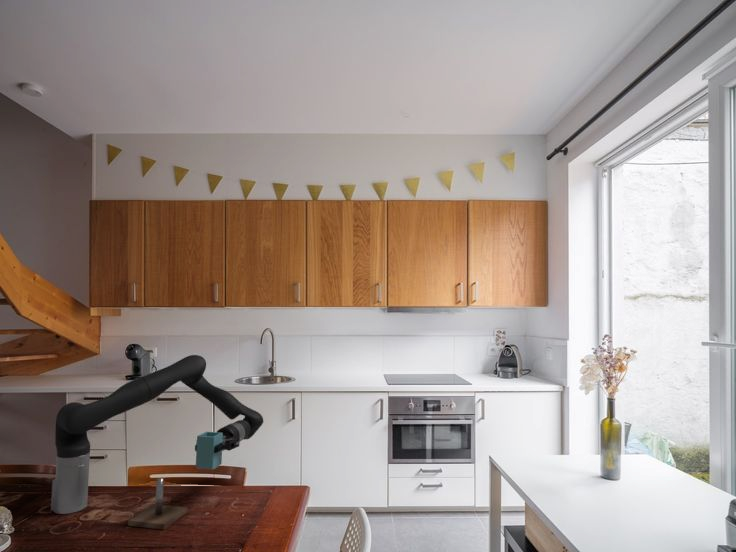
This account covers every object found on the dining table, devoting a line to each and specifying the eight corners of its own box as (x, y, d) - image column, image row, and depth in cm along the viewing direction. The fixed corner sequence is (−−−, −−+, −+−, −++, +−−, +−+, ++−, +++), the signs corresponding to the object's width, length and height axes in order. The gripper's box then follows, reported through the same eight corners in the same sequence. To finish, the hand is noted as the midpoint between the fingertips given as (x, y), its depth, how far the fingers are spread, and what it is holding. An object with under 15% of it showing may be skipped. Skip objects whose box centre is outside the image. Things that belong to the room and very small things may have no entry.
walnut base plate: (127, 525, 142) (128, 520, 143) (152, 508, 154) (153, 504, 154) (164, 529, 140) (164, 524, 140) (186, 512, 152) (187, 507, 152)
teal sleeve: (195, 468, 151) (197, 436, 152) (205, 462, 157) (206, 431, 158) (212, 469, 150) (213, 437, 151) (221, 464, 156) (222, 432, 157)
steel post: (153, 514, 147) (155, 479, 147) (157, 512, 148) (159, 477, 149) (159, 515, 146) (161, 480, 147) (163, 512, 148) (164, 477, 149)
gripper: (211, 423, 170) (185, 435, 153) (249, 426, 167) (227, 438, 151) (211, 444, 169) (184, 459, 153) (249, 448, 167) (226, 463, 150)
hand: (205, 449), depth 152 cm, fingers closed on teal sleeve, 5 cm apart
